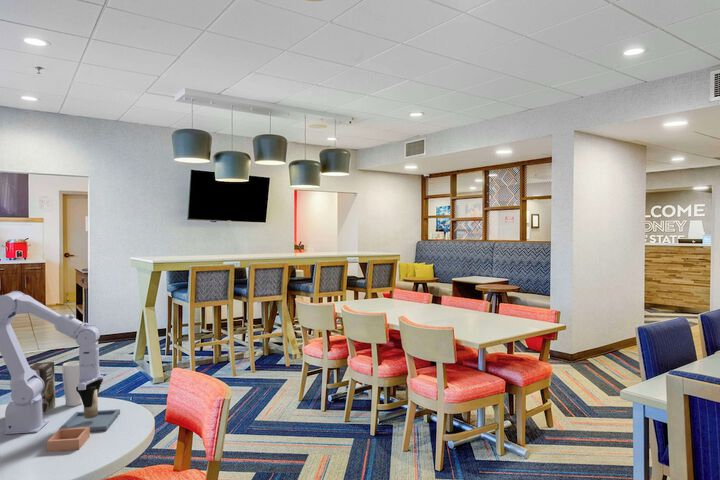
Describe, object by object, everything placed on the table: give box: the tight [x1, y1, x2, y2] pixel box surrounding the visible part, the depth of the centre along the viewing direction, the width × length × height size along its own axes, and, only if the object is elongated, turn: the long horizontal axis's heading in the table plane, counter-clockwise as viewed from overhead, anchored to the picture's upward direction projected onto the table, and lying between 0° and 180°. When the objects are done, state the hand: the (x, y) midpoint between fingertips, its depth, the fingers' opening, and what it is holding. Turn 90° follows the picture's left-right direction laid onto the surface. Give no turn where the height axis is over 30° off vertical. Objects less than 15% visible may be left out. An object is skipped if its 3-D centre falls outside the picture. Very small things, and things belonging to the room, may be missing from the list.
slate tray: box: [58, 408, 121, 433], centre depth 165 cm, size 14×14×2 cm
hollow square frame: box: [46, 427, 91, 453], centre depth 150 cm, size 9×9×3 cm
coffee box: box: [29, 361, 56, 416], centre depth 175 cm, size 9×6×16 cm
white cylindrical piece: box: [61, 360, 83, 407], centre depth 181 cm, size 7×7×15 cm
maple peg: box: [83, 389, 99, 419], centre depth 165 cm, size 4×4×8 cm
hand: (90, 404), depth 165 cm, fingers closed on maple peg, 4 cm apart
